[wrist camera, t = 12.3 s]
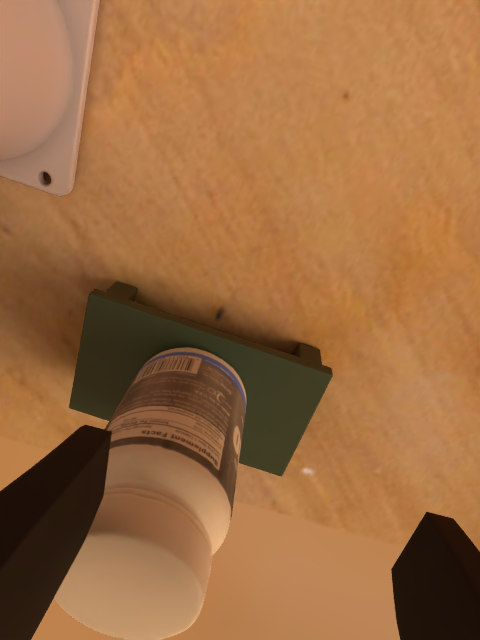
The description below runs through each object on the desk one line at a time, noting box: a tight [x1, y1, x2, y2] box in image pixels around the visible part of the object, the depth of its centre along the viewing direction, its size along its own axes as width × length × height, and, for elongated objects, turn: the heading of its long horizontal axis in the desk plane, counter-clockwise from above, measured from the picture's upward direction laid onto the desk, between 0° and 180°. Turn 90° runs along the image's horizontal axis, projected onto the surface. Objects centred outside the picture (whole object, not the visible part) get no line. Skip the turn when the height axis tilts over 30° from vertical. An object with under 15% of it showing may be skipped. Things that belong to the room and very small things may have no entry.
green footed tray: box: [69, 281, 333, 476], centre depth 19 cm, size 10×6×2 cm, turn 72°
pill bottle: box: [54, 347, 246, 640], centre depth 14 cm, size 5×5×8 cm
